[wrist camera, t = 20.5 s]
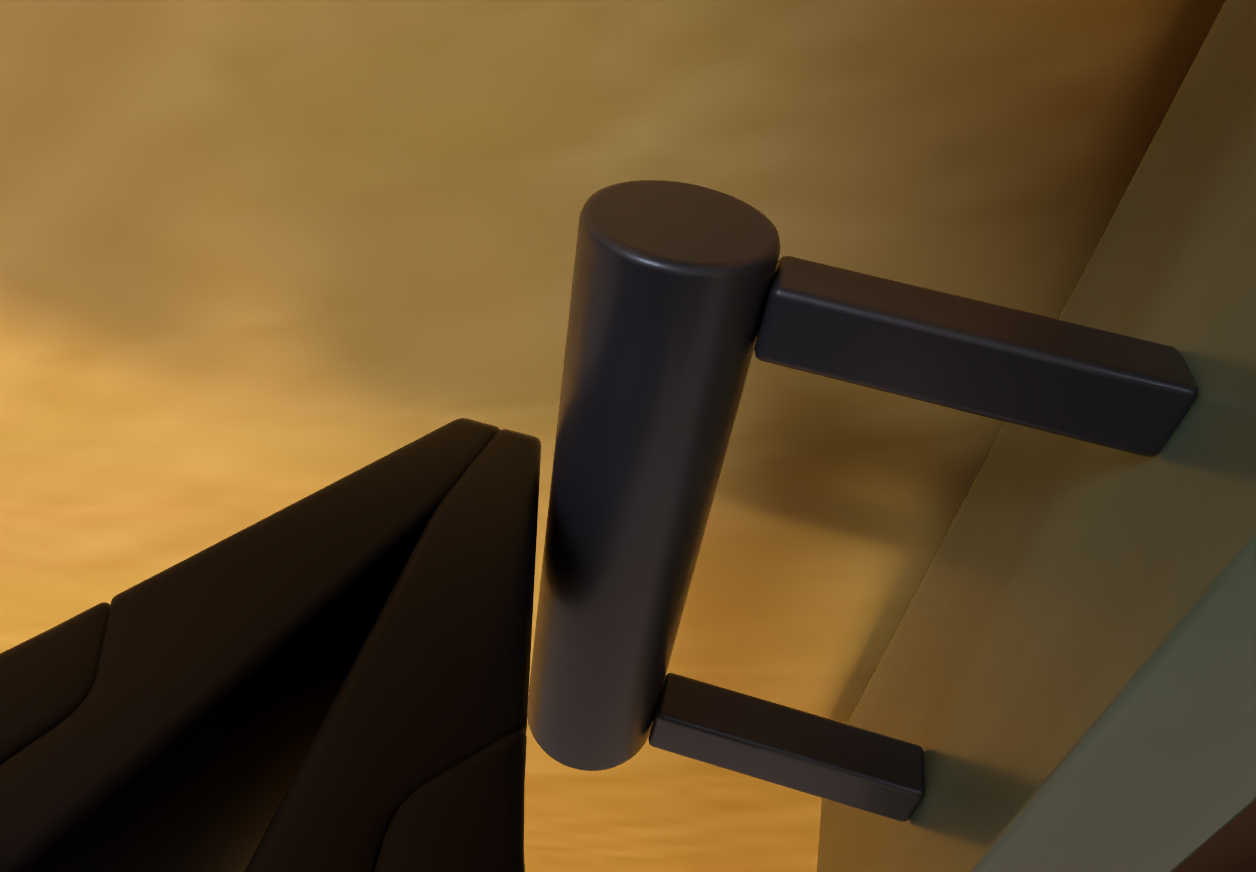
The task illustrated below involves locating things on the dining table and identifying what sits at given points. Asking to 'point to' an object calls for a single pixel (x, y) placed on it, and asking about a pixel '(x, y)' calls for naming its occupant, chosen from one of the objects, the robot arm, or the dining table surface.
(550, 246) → the dining table surface
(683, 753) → the drawer
